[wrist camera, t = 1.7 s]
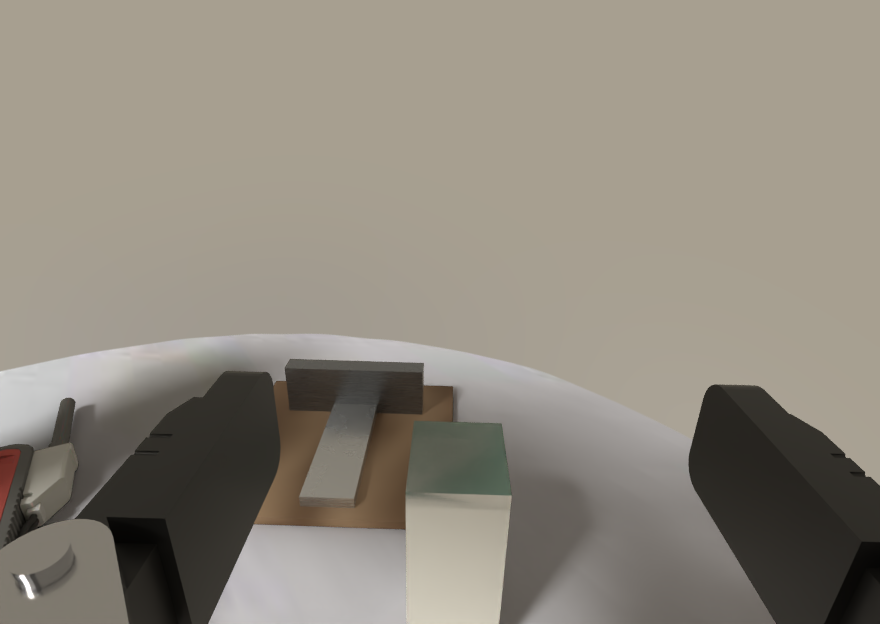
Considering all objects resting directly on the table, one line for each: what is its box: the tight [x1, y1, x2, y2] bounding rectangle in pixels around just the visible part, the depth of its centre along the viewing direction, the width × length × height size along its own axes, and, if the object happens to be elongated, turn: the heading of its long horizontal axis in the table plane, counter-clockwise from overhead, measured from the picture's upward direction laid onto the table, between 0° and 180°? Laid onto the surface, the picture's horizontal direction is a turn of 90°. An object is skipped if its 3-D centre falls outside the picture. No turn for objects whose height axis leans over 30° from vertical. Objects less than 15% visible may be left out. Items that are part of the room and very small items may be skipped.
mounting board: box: [254, 381, 453, 529], centre depth 40 cm, size 16×16×1 cm
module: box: [406, 421, 512, 624], centre depth 26 cm, size 4×5×10 cm
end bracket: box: [285, 359, 424, 415], centre depth 43 cm, size 11×2×4 cm, turn 89°
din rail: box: [299, 404, 377, 508], centre depth 39 cm, size 4×14×1 cm, turn 178°
